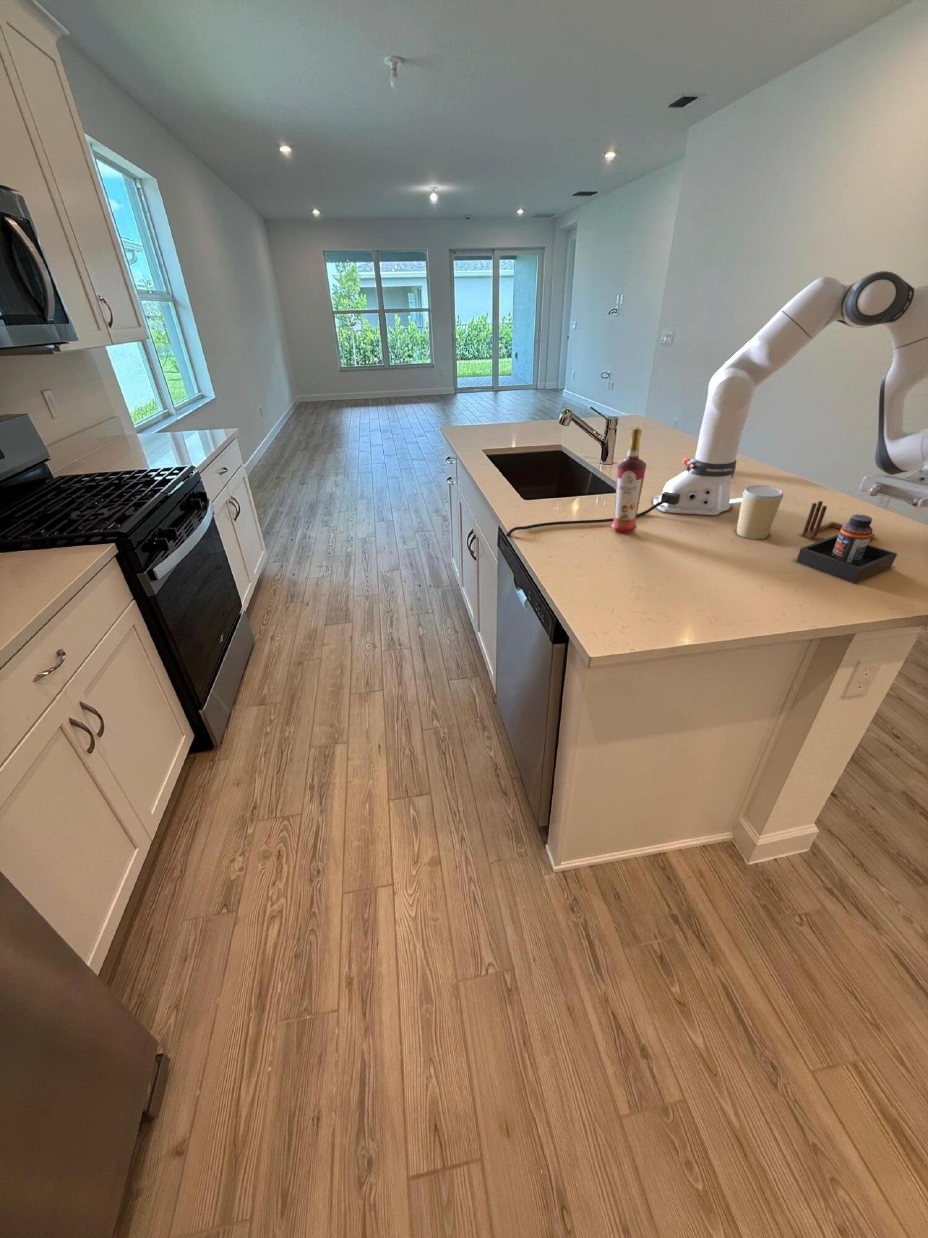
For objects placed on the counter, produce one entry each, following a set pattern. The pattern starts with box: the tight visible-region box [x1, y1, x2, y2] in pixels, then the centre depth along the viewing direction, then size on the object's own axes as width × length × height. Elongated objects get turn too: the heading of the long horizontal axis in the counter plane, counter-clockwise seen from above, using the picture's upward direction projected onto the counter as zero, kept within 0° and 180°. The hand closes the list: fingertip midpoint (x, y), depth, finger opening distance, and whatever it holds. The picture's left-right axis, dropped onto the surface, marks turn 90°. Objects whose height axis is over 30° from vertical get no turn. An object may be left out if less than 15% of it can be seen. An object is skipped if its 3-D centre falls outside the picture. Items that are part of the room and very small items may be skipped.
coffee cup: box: [736, 485, 784, 540], centre depth 135 cm, size 9×9×12 cm
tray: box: [795, 534, 898, 584], centre depth 120 cm, size 15×14×4 cm
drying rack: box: [801, 500, 875, 542], centre depth 132 cm, size 13×11×9 cm
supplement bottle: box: [831, 513, 874, 566], centre depth 118 cm, size 6×6×11 cm
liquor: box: [611, 426, 647, 535], centre depth 137 cm, size 7×7×28 cm
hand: (893, 497), depth 118 cm, fingers open, 8 cm apart
